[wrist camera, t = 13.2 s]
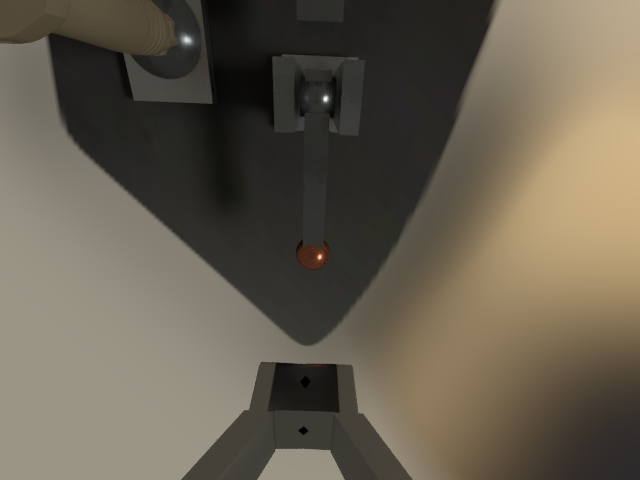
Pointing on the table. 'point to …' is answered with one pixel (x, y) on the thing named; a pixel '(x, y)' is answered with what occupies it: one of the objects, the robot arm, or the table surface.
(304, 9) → the lever
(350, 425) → the robot arm
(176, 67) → the frame
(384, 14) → the table surface
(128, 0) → the handle
